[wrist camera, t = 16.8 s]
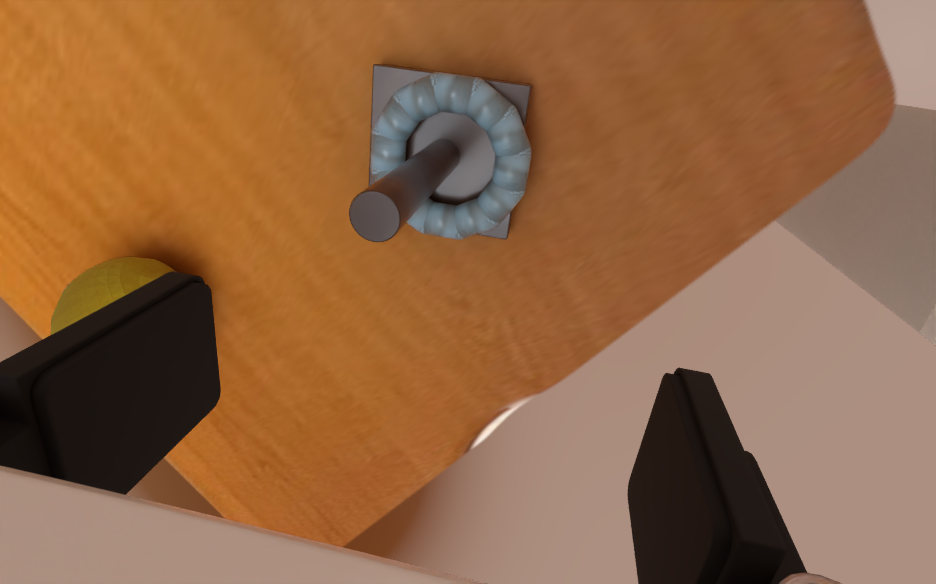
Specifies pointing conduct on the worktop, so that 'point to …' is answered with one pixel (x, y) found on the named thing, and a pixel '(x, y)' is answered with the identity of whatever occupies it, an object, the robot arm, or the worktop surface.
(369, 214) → the peg stand
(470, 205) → the ring
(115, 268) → the lemon
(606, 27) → the worktop surface
